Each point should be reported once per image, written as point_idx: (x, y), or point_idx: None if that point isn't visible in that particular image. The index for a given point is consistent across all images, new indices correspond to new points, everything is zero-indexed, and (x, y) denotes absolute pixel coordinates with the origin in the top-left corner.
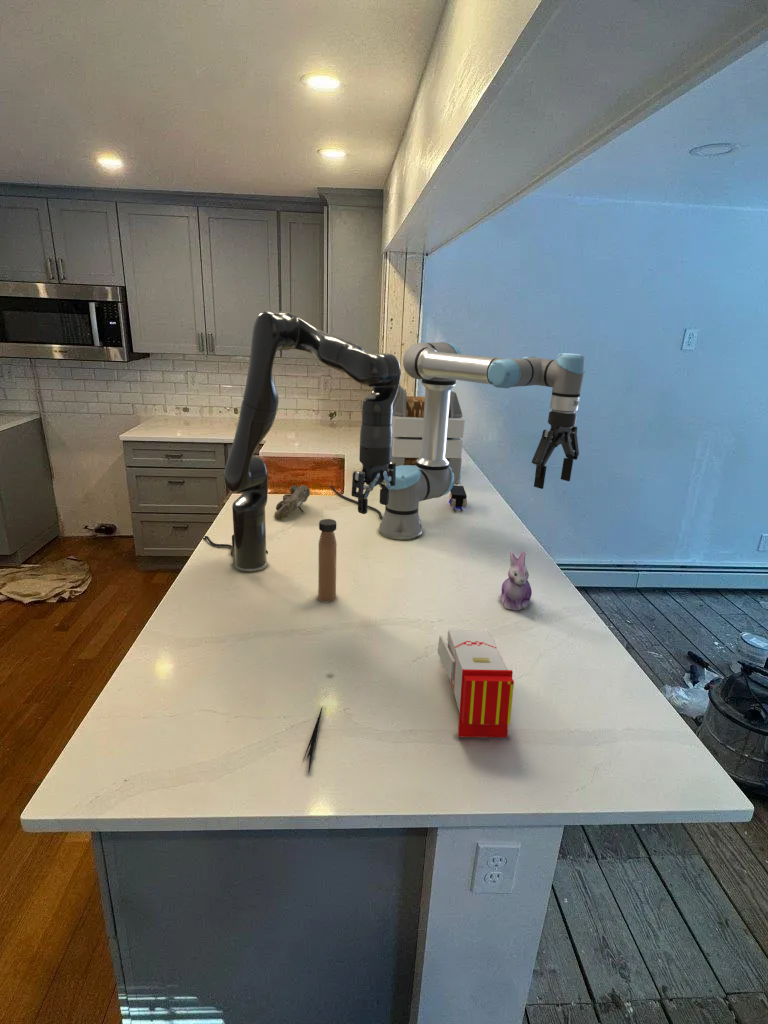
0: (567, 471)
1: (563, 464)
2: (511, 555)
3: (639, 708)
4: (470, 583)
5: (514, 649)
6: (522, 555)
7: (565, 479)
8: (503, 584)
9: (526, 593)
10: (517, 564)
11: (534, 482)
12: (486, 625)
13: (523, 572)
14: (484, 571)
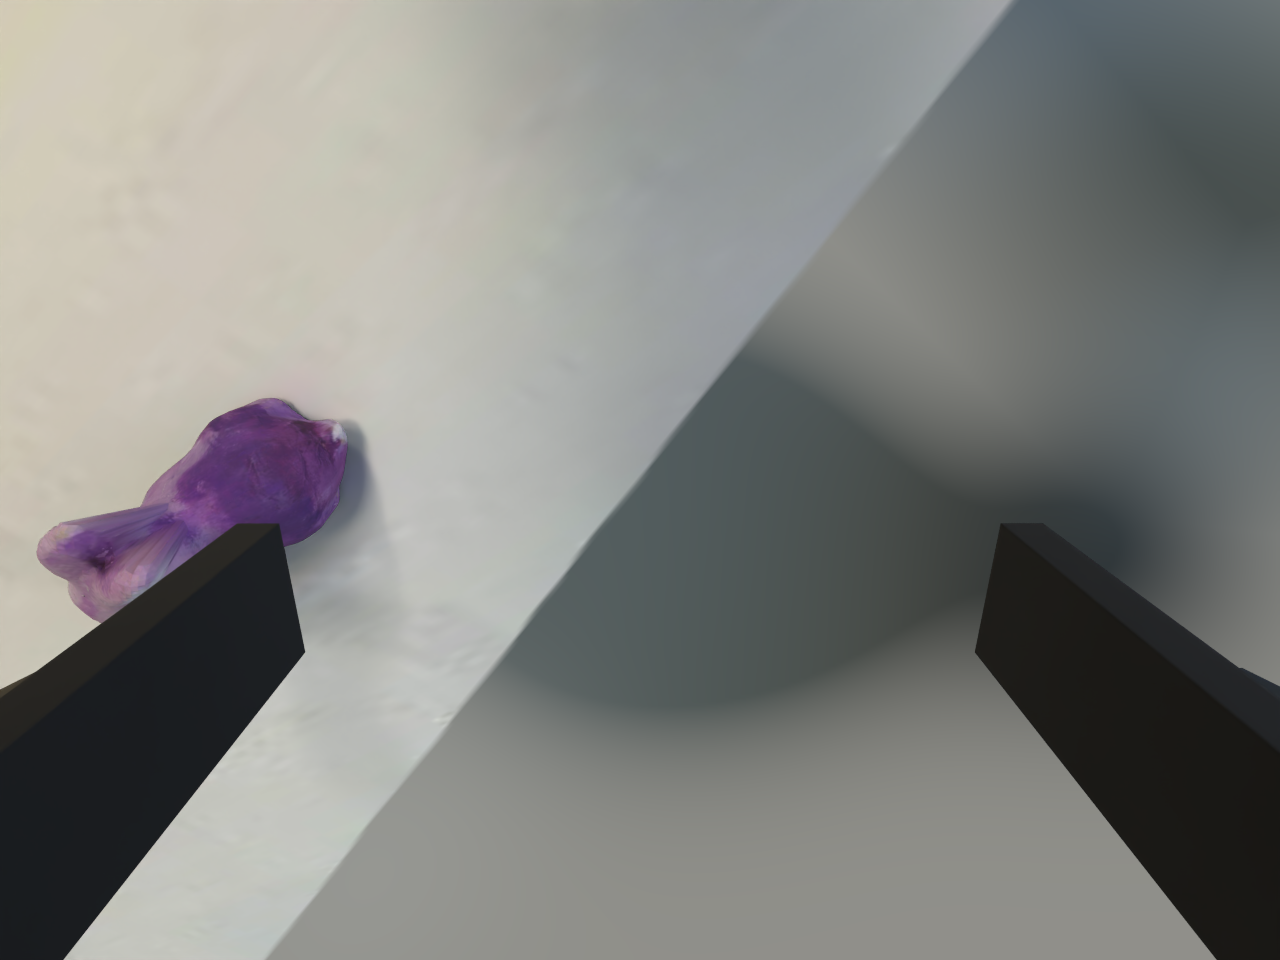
0: (1074, 715)
1: (1191, 702)
2: (38, 555)
3: (189, 955)
4: (211, 203)
5: (46, 661)
6: (106, 594)
7: (993, 612)
8: (198, 437)
9: None
10: (78, 587)
11: (195, 557)
12: (42, 512)
13: (101, 621)
14: (384, 145)
